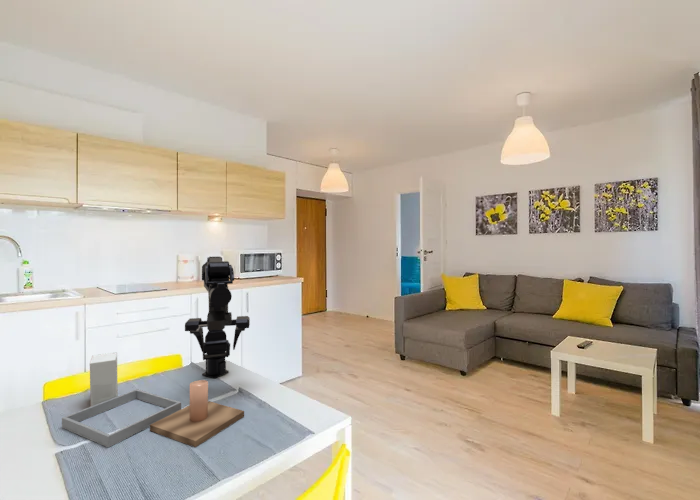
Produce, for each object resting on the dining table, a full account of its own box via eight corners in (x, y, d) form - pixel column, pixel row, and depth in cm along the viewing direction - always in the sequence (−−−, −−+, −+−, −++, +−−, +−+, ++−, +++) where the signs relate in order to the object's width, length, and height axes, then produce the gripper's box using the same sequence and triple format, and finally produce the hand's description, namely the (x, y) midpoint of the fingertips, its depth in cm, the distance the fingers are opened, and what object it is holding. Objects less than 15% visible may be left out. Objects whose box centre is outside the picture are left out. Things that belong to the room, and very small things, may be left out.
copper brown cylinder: (187, 422, 89) (187, 387, 89) (192, 413, 94) (192, 380, 93) (205, 421, 90) (205, 386, 90) (209, 413, 94) (209, 379, 94)
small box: (92, 398, 106) (92, 355, 106) (118, 393, 110) (117, 351, 109) (89, 409, 99) (89, 363, 99) (116, 403, 103) (116, 359, 102)
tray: (62, 427, 89) (61, 417, 89) (136, 397, 107) (136, 389, 107) (108, 447, 81) (108, 436, 81) (181, 411, 98) (181, 402, 98)
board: (149, 430, 88) (149, 424, 88) (201, 404, 103) (201, 399, 103) (195, 447, 81) (195, 440, 81) (244, 416, 96) (244, 411, 96)
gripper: (180, 307, 101) (180, 361, 101) (248, 304, 105) (248, 356, 106) (188, 300, 112) (188, 349, 112) (249, 298, 116) (249, 345, 117)
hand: (218, 350), depth 111 cm, fingers open, 9 cm apart
